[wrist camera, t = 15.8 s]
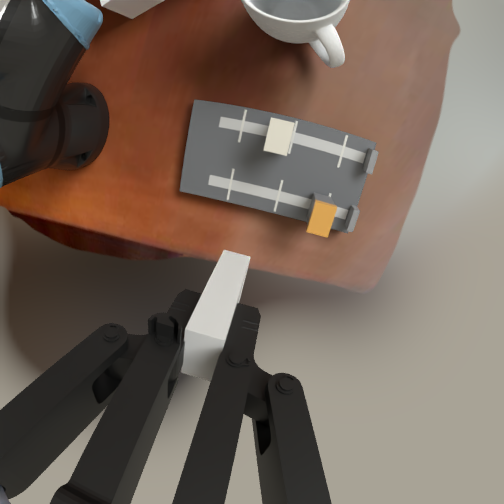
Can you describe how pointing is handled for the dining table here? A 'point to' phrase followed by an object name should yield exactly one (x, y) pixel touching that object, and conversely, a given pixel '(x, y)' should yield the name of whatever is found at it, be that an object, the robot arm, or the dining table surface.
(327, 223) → the fader orange
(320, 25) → the mug
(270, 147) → the fader cream
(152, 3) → the tissue box
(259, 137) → the console
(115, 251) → the dining table surface
